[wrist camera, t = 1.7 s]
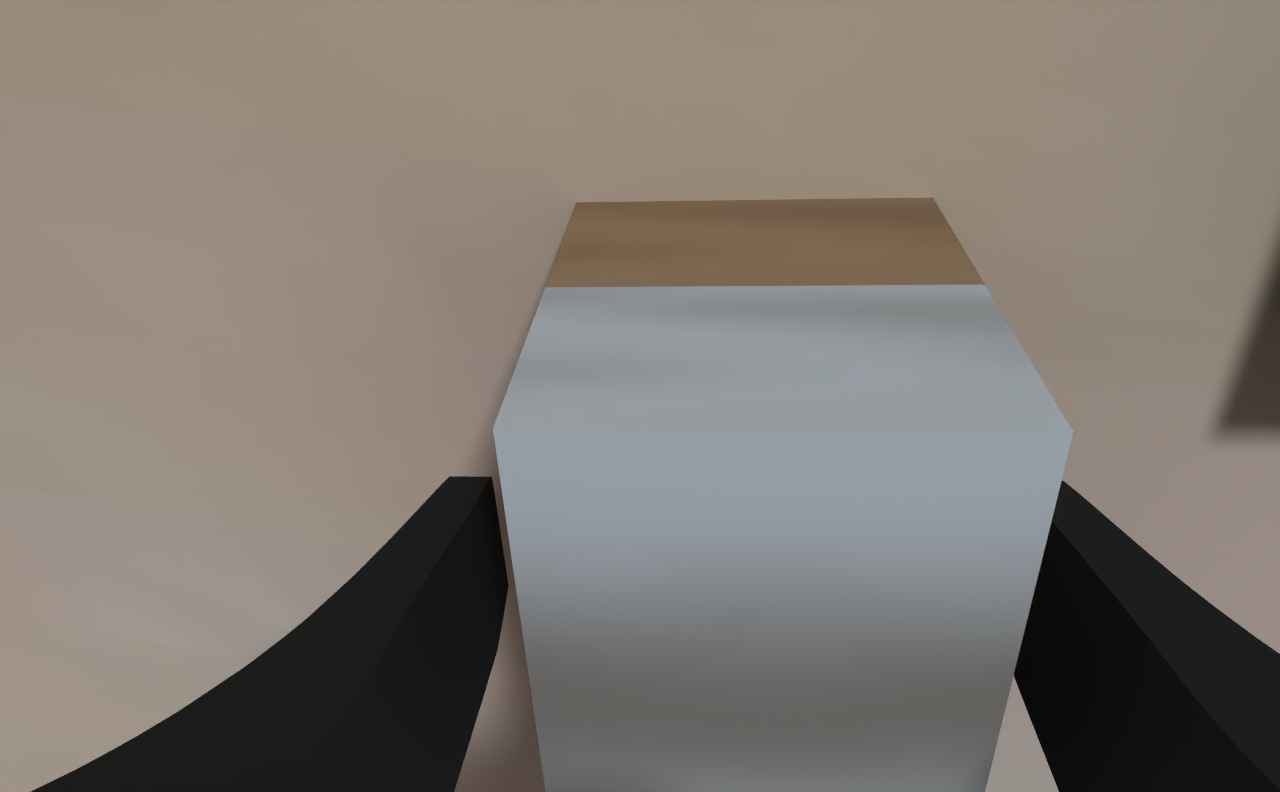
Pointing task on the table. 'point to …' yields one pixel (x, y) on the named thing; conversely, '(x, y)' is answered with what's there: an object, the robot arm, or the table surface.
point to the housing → (773, 500)
